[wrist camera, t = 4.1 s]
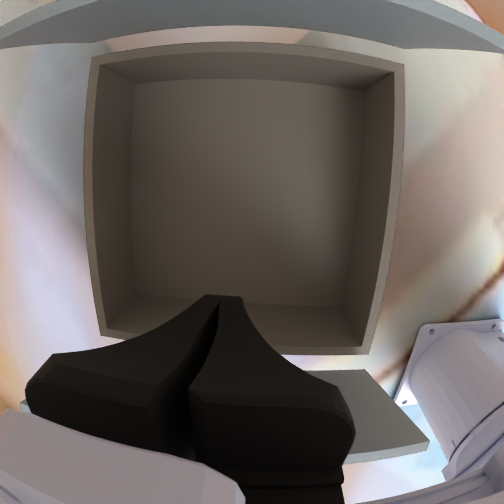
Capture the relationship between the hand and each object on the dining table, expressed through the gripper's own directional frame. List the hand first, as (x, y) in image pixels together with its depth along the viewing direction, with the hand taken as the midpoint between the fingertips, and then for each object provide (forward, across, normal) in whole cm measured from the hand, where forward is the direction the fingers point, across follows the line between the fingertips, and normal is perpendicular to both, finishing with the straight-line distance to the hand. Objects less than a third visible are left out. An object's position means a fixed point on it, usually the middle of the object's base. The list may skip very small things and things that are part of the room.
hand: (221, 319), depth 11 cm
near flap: (-1, 0, -10) cm, 10 cm away
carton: (+8, 0, -4) cm, 9 cm away
